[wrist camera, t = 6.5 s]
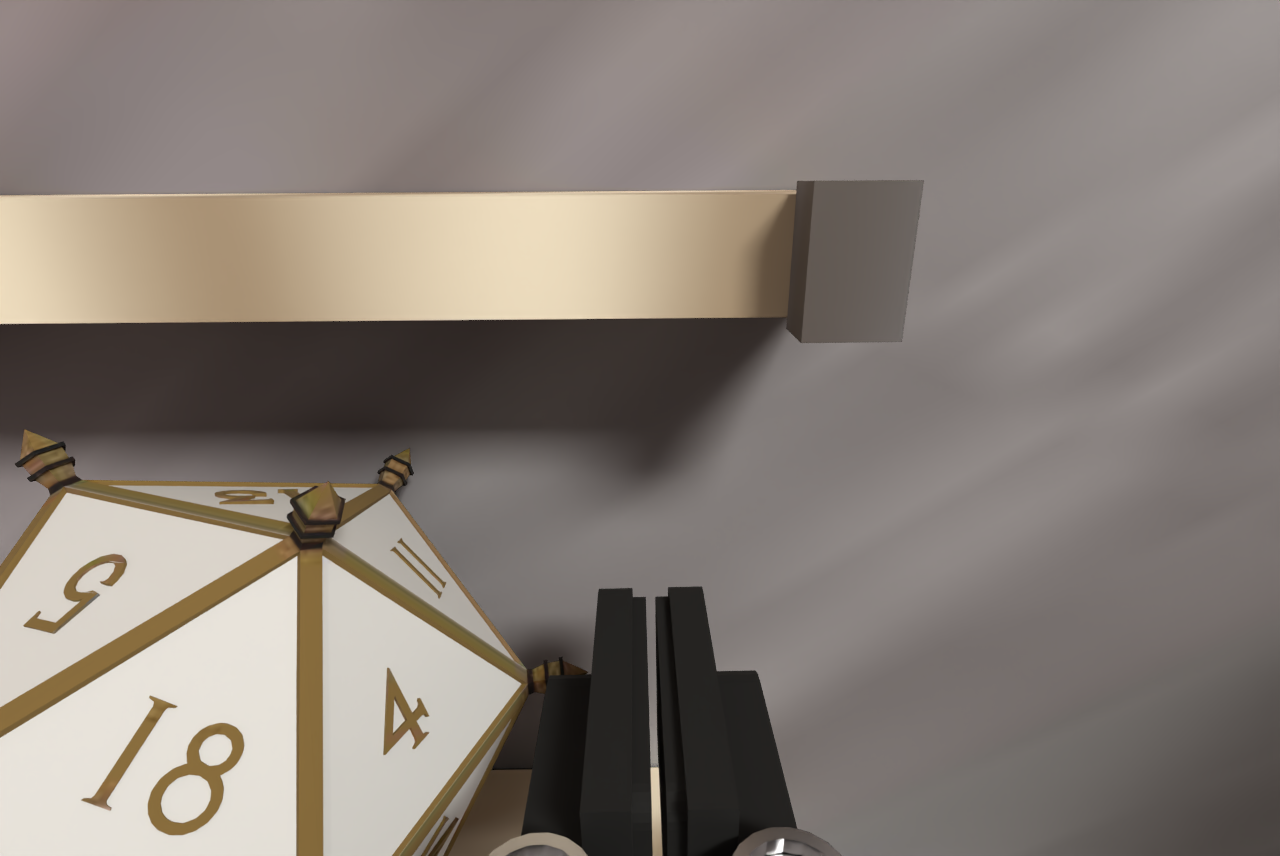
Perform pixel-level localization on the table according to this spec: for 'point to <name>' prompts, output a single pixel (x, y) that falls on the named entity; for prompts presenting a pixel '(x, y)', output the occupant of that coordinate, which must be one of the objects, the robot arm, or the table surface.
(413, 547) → the game die
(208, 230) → the parallel beige rails
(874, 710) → the table surface
